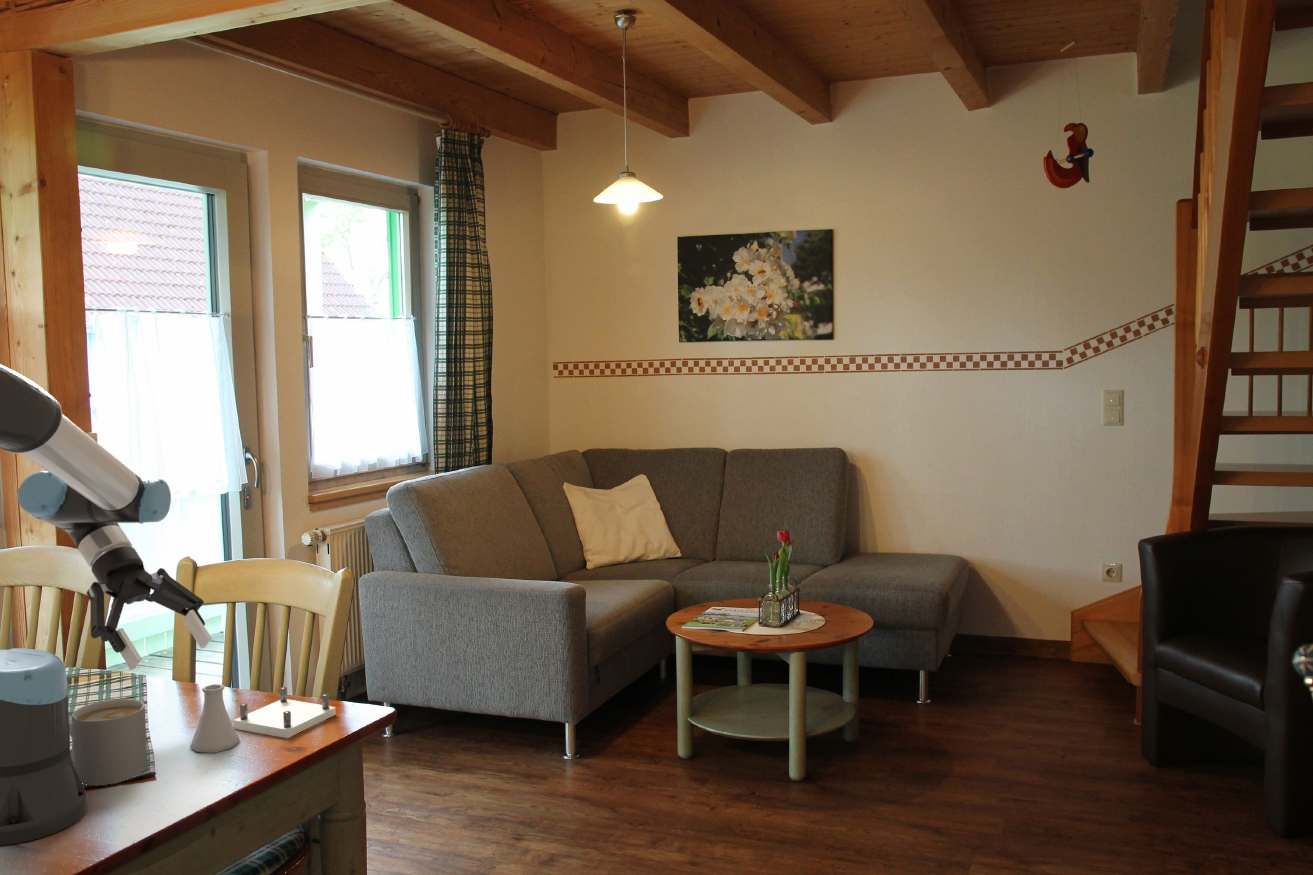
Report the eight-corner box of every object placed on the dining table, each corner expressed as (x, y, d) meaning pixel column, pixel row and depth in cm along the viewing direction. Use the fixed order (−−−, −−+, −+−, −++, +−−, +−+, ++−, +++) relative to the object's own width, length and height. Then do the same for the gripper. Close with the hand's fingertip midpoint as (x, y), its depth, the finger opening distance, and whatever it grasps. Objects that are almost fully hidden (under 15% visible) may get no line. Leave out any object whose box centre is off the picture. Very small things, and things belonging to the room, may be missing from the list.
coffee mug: (160, 760, 162) (157, 699, 161) (123, 786, 152) (120, 721, 151) (80, 757, 163) (77, 697, 162) (38, 783, 153) (35, 719, 152)
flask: (181, 749, 167) (179, 690, 166) (217, 734, 173) (215, 677, 172) (213, 757, 164) (210, 696, 163) (248, 741, 170) (246, 683, 169)
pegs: (287, 728, 172) (287, 713, 172) (238, 719, 176) (238, 705, 176) (330, 707, 182) (330, 694, 182) (283, 699, 186) (283, 686, 186)
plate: (288, 738, 172) (287, 729, 171) (233, 728, 176) (233, 719, 176) (335, 715, 183) (335, 707, 182) (283, 706, 187) (283, 698, 187)
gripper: (165, 558, 190) (223, 647, 185) (32, 585, 168) (93, 687, 163) (183, 533, 188) (243, 623, 182) (50, 557, 165) (113, 660, 160)
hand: (172, 653), depth 172 cm, fingers open, 13 cm apart
